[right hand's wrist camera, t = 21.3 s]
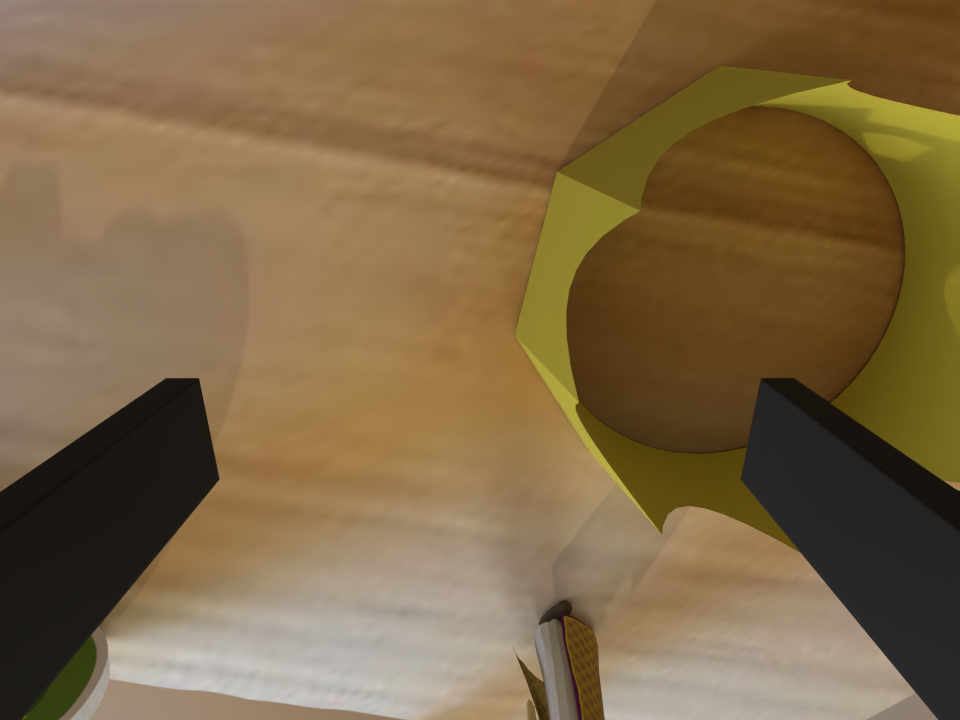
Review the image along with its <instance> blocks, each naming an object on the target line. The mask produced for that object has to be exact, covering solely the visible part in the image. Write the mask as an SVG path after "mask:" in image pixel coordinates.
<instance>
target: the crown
mask: <svg viewBox="0 0 960 720" xmlns="http://www.w3.org/2000/svg"><path fill="white" fill-rule="evenodd" d="M850 81H851V80H845V79H837V78H828V77H819V76H810V75H801V74H793V73H784V72H775V71H766V70H758V69H749V68H740V67H731V66H722V65H719V66H718V67H716V68H715V69H713V70H712V71H710V72H709V73H707V74H706V75H704V76H702V77H701V78H699V79H698V80H696V81H695V82H693V83H692V84H690V85H689V86H687V87H686V88H684V89H683V90H681V91H680V92H678V93H676V94H675V95H673V96H672V97H670V98H669V99H667V100H666V101H664V102H663V103H661V104H660V105H658V106H657V107H655V108H654V109H652V110H650V111H649V112H647V113H646V114H644V115H643V116H641V117H640V118H638V119H637V120H635V121H634V122H632V123H631V124H629V125H628V126H626V127H624V128H623V129H621V130H620V131H618V132H617V133H615V134H614V135H612V136H611V137H609V138H608V139H606V140H605V141H603V142H602V143H600V144H598V145H597V146H595V147H594V148H592V149H591V150H589V151H588V152H586V153H585V154H583V155H582V156H580V157H579V158H577V159H575V160H574V161H572V162H571V163H569V164H568V165H566V166H565V167H563V168H562V169H560V170H559V171H557V173H556V177H555V180H554V184H553V188H552V192H551V196H550V200H549V204H548V208H547V211H546V215H545V219H544V223H543V227H542V231H541V235H540V239H539V242H538V246H537V250H536V254H535V258H534V262H533V266H532V269H531V273H530V277H529V281H528V285H527V289H526V293H525V297H524V300H523V304H522V308H521V312H520V316H519V320H518V324H517V328H516V331H515V336H516V338H517V339H518V341H519V342H520V344H521V346H522V347H523V349H524V350H525V352H526V353H527V355H528V356H529V358H530V360H531V361H532V363H533V364H534V366H535V367H536V369H537V371H538V372H539V374H540V375H541V377H542V378H543V380H544V381H545V383H546V385H547V386H548V388H549V389H550V391H551V392H552V394H553V395H554V397H555V399H556V400H557V402H558V403H559V405H560V406H561V408H562V409H563V411H564V413H565V414H566V416H567V417H568V419H569V420H570V422H571V423H572V425H573V427H574V428H575V430H576V431H577V433H578V434H579V436H580V437H581V439H582V441H583V442H584V444H585V445H586V447H587V448H588V450H589V451H590V453H591V454H592V455H593V456H594V457H595V458H596V459H597V461H598V462H599V463H600V464H601V465H602V466H603V467H604V469H605V470H606V471H607V472H608V473H609V474H610V476H611V477H612V478H613V479H614V480H615V481H616V482H617V484H618V485H619V486H620V487H621V488H622V489H623V490H624V492H625V493H626V494H627V495H628V496H629V497H630V499H631V500H632V501H633V502H634V503H635V504H636V505H637V507H638V508H639V509H640V510H641V511H642V512H643V514H644V515H645V516H646V517H647V518H648V519H649V520H650V522H651V523H652V524H653V525H654V526H655V527H656V528H657V530H658V531H659V532H660V533H661V534H662V528H663V524H664V522H665V520H666V517H667V515H668V514H669V513H670V512H672V511H673V510H674V509H676V508H678V507H684V506H694V507H701V508H706V509H709V510H712V511H715V512H718V513H721V514H724V515H727V516H729V517H731V518H734V519H736V520H738V521H741V522H743V523H745V524H747V525H750V526H752V527H753V528H755V529H757V530H759V531H761V532H763V533H765V534H767V535H769V536H771V537H773V538H775V539H777V540H779V541H781V542H782V543H784V544H786V545H788V546H790V547H791V548H793V549H795V550H797V551H798V552H800V551H799V550H798V549H797V547H796V546H795V545H794V544H793V543H792V541H791V540H790V539H789V538H788V537H787V535H786V534H785V533H784V532H783V530H782V529H781V528H780V527H779V526H778V524H777V523H776V522H775V521H774V520H773V518H772V517H771V516H770V515H769V513H768V512H767V511H766V510H765V509H764V507H763V506H762V505H761V504H760V503H759V501H758V500H757V499H756V498H755V496H754V495H753V494H752V493H751V492H750V490H749V489H748V488H747V487H746V486H745V484H744V483H743V482H742V481H741V475H742V470H743V465H744V460H745V455H746V450H747V447H744V448H741V449H736V450H730V451H725V452H716V453H699V454H694V453H678V452H671V451H665V450H661V449H656V448H652V447H649V446H646V445H643V444H640V443H637V442H635V441H633V440H630V439H628V438H626V437H624V436H622V435H620V434H618V433H617V432H615V431H613V430H612V429H610V428H609V427H607V426H606V425H604V424H603V423H602V422H601V421H599V420H598V419H597V418H596V417H594V416H593V415H592V414H591V413H590V412H589V411H588V410H587V409H586V408H585V407H584V406H583V404H582V403H581V402H580V401H579V400H578V396H577V392H576V387H575V383H574V379H573V374H572V370H571V365H570V358H569V350H568V343H567V330H566V310H567V303H568V295H569V289H570V286H571V284H572V281H573V278H574V275H575V272H576V270H577V268H578V266H579V265H580V263H581V261H582V260H583V258H584V256H585V255H586V253H587V252H588V251H589V250H590V249H591V248H592V247H593V246H594V245H595V244H596V242H597V241H598V240H599V239H600V238H601V237H602V236H603V235H605V234H606V233H607V232H609V231H610V230H611V229H613V228H614V227H615V226H617V225H618V224H620V223H621V222H622V221H624V220H625V219H627V218H629V217H631V216H632V215H634V214H636V213H638V212H640V211H641V200H642V195H643V192H644V189H645V185H646V182H647V179H648V176H649V174H650V173H651V171H652V169H653V168H654V166H655V164H656V163H657V161H658V159H659V158H660V157H661V156H662V155H663V154H664V153H665V152H666V151H667V150H668V149H669V148H670V147H671V146H672V145H673V144H674V143H676V142H677V141H678V140H680V139H681V138H683V137H684V136H686V135H687V134H689V133H690V132H691V131H693V130H695V129H697V128H699V127H701V126H703V125H705V124H707V123H709V122H711V121H713V120H715V119H717V118H719V117H722V116H725V115H728V114H730V113H733V112H736V111H738V110H741V109H744V108H746V107H750V106H762V107H776V108H782V109H788V110H793V111H797V112H800V113H804V114H807V115H811V116H813V117H815V118H818V119H820V120H823V121H825V122H827V123H829V124H831V125H832V126H834V127H836V128H838V129H840V130H841V131H843V132H844V133H845V134H847V135H848V136H849V137H851V138H852V139H854V140H855V141H856V142H857V143H858V144H859V145H860V146H861V147H862V148H863V149H865V150H866V151H867V153H868V154H869V155H870V156H871V157H872V158H873V160H874V161H875V162H876V163H877V165H878V166H879V168H880V169H881V171H882V172H883V174H884V175H885V177H886V179H887V181H888V182H889V184H890V186H891V188H892V190H893V193H894V195H895V198H896V201H897V203H898V206H899V210H900V214H901V218H902V222H903V229H904V236H905V267H904V275H903V282H902V287H901V291H900V295H899V299H898V303H897V306H896V309H895V312H894V315H893V318H892V320H891V322H890V324H889V327H888V329H887V331H886V333H885V335H884V337H883V339H882V341H881V343H880V344H879V346H878V348H877V350H876V351H875V353H874V354H873V356H872V357H871V359H870V360H869V362H868V363H867V364H866V366H865V367H864V368H863V370H862V371H861V372H860V374H859V375H858V376H857V377H856V378H855V379H854V380H853V382H852V383H851V384H850V385H849V386H848V387H847V388H846V389H845V390H844V391H843V392H842V393H841V394H840V395H839V396H838V397H837V398H836V399H834V400H833V401H832V402H831V404H832V405H834V406H835V407H836V408H838V409H839V410H841V411H842V412H844V413H845V414H847V415H848V416H850V417H851V418H852V419H854V420H855V421H857V422H858V423H860V424H861V425H863V426H864V427H866V428H867V429H868V430H870V431H871V432H873V433H874V434H876V435H877V436H879V437H880V438H882V439H883V440H885V441H886V442H887V443H889V444H890V445H892V446H893V447H895V448H896V449H898V450H899V451H901V452H902V453H903V454H905V455H906V456H908V457H909V458H911V459H912V460H914V461H915V462H917V463H918V464H920V465H921V466H922V467H924V468H925V469H927V470H928V471H930V472H931V473H933V474H934V475H936V476H937V477H938V478H940V479H941V480H943V481H952V482H960V116H959V115H954V114H949V113H944V112H940V111H935V110H930V109H925V108H921V107H917V106H912V105H908V104H903V103H899V102H895V101H891V100H887V99H883V98H879V97H875V96H872V95H869V94H865V93H862V92H859V91H857V90H855V89H852V88H850V87H849V86H848V85H847V83H848V82H850ZM800 553H801V552H800Z"/></svg>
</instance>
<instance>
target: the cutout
mask: <svg viewBox="0 0 960 720" xmlns="http://www.w3.org/2000/svg"><path fill="white" fill-rule="evenodd" d="M109 665H110V664H109V653H108V644H107V640H106V636H105V635H104V633H103V631H102V630H101V629H100V627H99V626H98V628H97V629H96V630H95V631H94V632H93V634H92V635H91V636H90V637H89V639H88V640H87V641H86V642H85V643H84V645H83V646H82V647H81V648H80V649H79V651H78V652H77V653H76V654H75V656H74V657H73V658H72V659H71V660H70V662H69V663H68V664H67V665H66V666H65V668H64V669H63V670H62V671H61V673H60V674H59V675H58V676H57V677H56V679H55V680H54V681H53V682H52V683H51V685H50V686H49V687H48V688H47V690H46V691H45V692H44V693H43V694H42V696H41V697H40V698H39V699H38V701H37V702H36V703H35V704H34V705H33V707H32V708H31V709H30V710H29V711H28V713H27V714H26V715H25V716H24V718H23V719H22V720H90V718H91V717H92V715H93V714H94V712H95V710H96V709H97V707H98V705H99V703H100V701H101V700H102V698H103V696H104V693H105V690H106V688H107V684H108V680H109V674H110V669H109Z"/></svg>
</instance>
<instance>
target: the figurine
mask: <svg viewBox="0 0 960 720" xmlns="http://www.w3.org/2000/svg"><path fill="white" fill-rule="evenodd" d="M571 611H572V606H571V604H570V603H569V602H567V601H564V602H561V603H559V604H557V605H556V606H554V607H553V608H551V609H550V610H549V611H548V612H547V613H546V614H545V615H544V616H543V617H542V618H541V620H540V622H539V626H538V628H537V629H536V630H535V631H534V640H535V646H536V652H537V656H538V660H539V664H540V668H541V672H542V676H543V681H544V682H542V681H541V680H539V679H538V678H536V677H535V676H534V675H533V674H532V673H531V672H530V671H529V670H528V669H527V667H526V666H525V665H524V663H523V662H522V661H521V660H520V659H519V658H518V656H517V655H516V656H517V659H518V661H519V663H520V666H521V668H522V671H523V673H524V676H525V678H526V681H527V683H528V686H529V689H530V692H531V695H532V698H533V701H534V704H535V707H536V710H537V713H538V716H539V720H605V719H604V711H603V702H602V693H601V685H600V676H599V658H598V644H597V640H596V637H595V635H594V632H593V631H592V630H591V629H590V628H589V627H588V626H586V625H585V624H584V623H582V622H581V621H579V620H577V619H575V618H573V617H571V616H569V615H570V613H571ZM513 649H514V648H513ZM514 652H515V651H514ZM515 654H516V653H515ZM527 720H537V719H536V715H535V708H534V706H533V704H532V702H531V701H530V699H528V702H527Z"/></svg>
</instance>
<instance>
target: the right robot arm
mask: <svg viewBox="0 0 960 720" xmlns="http://www.w3.org/2000/svg"><path fill="white" fill-rule="evenodd" d="M218 481H219V475H218V470H217V465H216V460H215V455H214V450H213V445H212V440H211V435H210V430H209V425H208V420H207V416H206V411H205V406H204V401H203V396H202V391H201V386H200V381H199V378H166V379H164V380H163V381H161V382H160V383H159V384H157V385H156V386H154V387H153V388H151V389H150V390H148V391H147V392H145V393H144V394H143V395H141V396H140V397H138V398H137V399H135V400H134V401H132V402H131V403H129V404H128V405H126V406H125V407H124V408H122V409H121V410H119V411H118V412H116V413H115V414H113V415H112V416H110V417H109V418H108V419H106V420H105V421H103V422H102V423H100V424H99V425H97V426H96V427H94V428H93V429H92V430H90V431H89V432H87V433H86V434H84V435H83V436H81V437H80V438H78V439H77V440H75V441H74V442H73V443H71V444H70V445H68V446H67V447H65V448H64V449H62V450H61V451H59V452H58V453H57V454H55V455H54V456H52V457H51V458H49V459H48V460H46V461H45V462H43V463H42V464H40V465H39V466H38V467H36V468H35V469H33V470H32V471H30V472H29V473H27V474H26V475H24V476H23V477H22V478H20V479H19V480H17V481H16V482H14V483H13V484H11V485H10V486H8V487H7V488H5V489H4V490H3V491H1V492H0V720H22V719H23V718H24V716H25V715H26V714H27V713H28V711H29V710H30V709H31V708H32V707H33V705H34V704H35V703H36V702H37V701H38V699H39V698H40V697H41V696H42V694H43V693H44V692H45V691H46V690H47V688H48V687H49V686H50V685H51V683H52V682H53V681H54V680H55V679H56V677H57V676H58V675H59V674H60V673H61V671H62V670H63V669H64V668H65V666H66V665H67V664H68V663H69V662H70V660H71V659H72V658H73V657H74V656H75V654H76V653H77V652H78V651H79V649H80V648H81V647H82V646H83V645H84V643H85V642H86V641H87V640H88V639H89V637H90V636H91V635H92V634H93V632H94V631H95V630H96V629H97V628H98V626H99V625H100V624H101V623H102V622H103V620H104V619H105V618H106V617H107V615H108V614H109V613H110V612H111V611H112V609H113V608H114V607H115V606H116V605H117V603H118V602H119V601H120V600H121V598H122V597H123V596H124V595H125V594H126V592H127V591H128V590H129V589H130V588H131V586H132V585H133V584H134V583H135V581H136V580H137V579H138V578H139V577H140V575H141V574H142V573H143V572H144V571H145V569H146V568H147V567H148V566H149V564H150V563H151V562H152V561H153V560H154V558H155V557H156V556H157V555H158V554H159V552H160V551H161V550H162V549H163V547H164V546H165V545H166V544H167V543H168V541H169V540H170V539H171V538H172V537H173V535H174V534H175V533H176V532H177V530H178V529H179V528H180V527H181V526H182V524H183V523H184V522H185V521H186V520H187V518H188V517H189V516H190V515H191V513H192V512H193V511H194V510H195V509H196V507H197V506H198V505H199V504H200V503H201V501H202V500H203V499H204V498H205V496H206V495H207V494H208V493H209V492H210V490H211V489H212V488H213V487H214V485H215V484H216V483H217V482H218ZM741 481H742V482H743V483H744V484H745V486H746V487H747V488H748V489H749V490H750V492H751V493H752V494H753V495H754V496H755V498H756V499H757V500H758V501H759V503H760V504H761V505H762V506H763V507H764V509H765V510H766V511H767V512H768V513H769V515H770V516H771V517H772V518H773V520H774V521H775V522H776V523H777V524H778V526H779V527H780V528H781V529H782V530H783V532H784V533H785V534H786V535H787V537H788V538H789V539H790V540H791V541H792V543H793V544H794V545H795V546H796V547H797V549H798V550H799V551H800V552H801V554H802V555H803V556H804V557H805V558H806V560H807V561H808V562H809V563H810V564H811V566H812V567H813V568H814V569H815V571H816V572H817V573H818V574H819V575H820V577H821V578H822V579H823V580H824V581H825V583H826V584H827V585H828V586H829V588H830V589H831V590H832V591H833V592H834V594H835V595H836V596H837V597H838V598H839V600H840V601H841V602H842V603H843V605H844V606H845V607H846V608H847V609H848V611H849V612H850V613H851V614H852V615H853V617H854V618H855V619H856V620H857V622H858V623H859V624H860V625H861V626H862V628H863V629H864V630H865V631H866V632H867V634H868V635H869V636H870V637H871V639H872V640H873V641H874V642H875V643H876V645H877V646H878V647H879V648H880V649H881V651H882V652H883V653H884V654H885V656H886V657H887V658H888V659H889V660H890V662H891V663H892V664H893V665H894V666H895V668H896V669H897V670H898V671H899V673H900V674H901V675H902V676H903V677H904V679H905V680H906V681H907V682H908V684H909V685H910V686H911V687H912V688H913V690H914V691H915V692H916V693H917V694H918V696H919V697H920V698H921V699H922V701H923V702H924V703H925V704H926V705H927V707H928V708H929V709H930V710H931V711H932V713H933V714H934V715H935V716H936V718H937V719H938V720H960V491H959V490H956V489H955V488H953V487H952V486H950V485H949V484H947V483H946V482H944V481H943V480H941V479H940V478H938V477H937V476H936V475H934V474H933V473H931V472H930V471H928V470H927V469H925V468H924V467H922V466H921V465H920V464H918V463H917V462H915V461H914V460H912V459H911V458H909V457H908V456H906V455H905V454H903V453H902V452H901V451H899V450H898V449H896V448H895V447H893V446H892V445H890V444H889V443H887V442H886V441H885V440H883V439H882V438H880V437H879V436H877V435H876V434H874V433H873V432H871V431H870V430H868V429H867V428H866V427H864V426H863V425H861V424H860V423H858V422H857V421H855V420H854V419H852V418H851V417H850V416H848V415H847V414H845V413H844V412H842V411H841V410H839V409H838V408H836V407H835V406H834V405H832V404H831V403H829V402H828V401H826V400H825V399H823V398H822V397H820V396H819V395H817V394H816V393H815V392H813V391H812V390H810V389H809V388H807V387H806V386H804V385H803V384H801V383H800V382H799V381H797V380H796V379H794V378H761V381H760V386H759V391H758V396H757V401H756V406H755V411H754V416H753V420H752V425H751V430H750V435H749V440H748V445H747V450H746V455H745V460H744V465H743V470H742V475H741Z"/></svg>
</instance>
